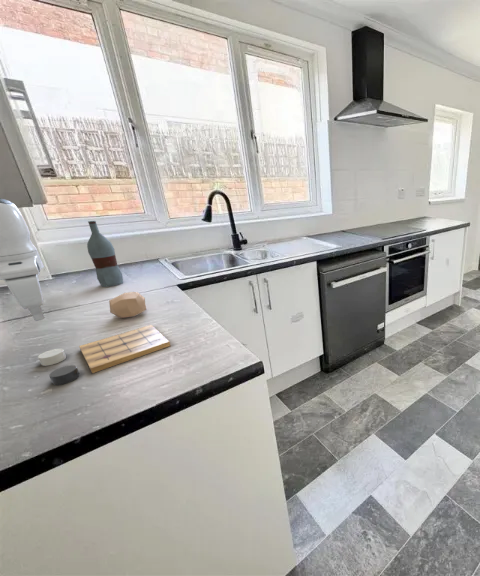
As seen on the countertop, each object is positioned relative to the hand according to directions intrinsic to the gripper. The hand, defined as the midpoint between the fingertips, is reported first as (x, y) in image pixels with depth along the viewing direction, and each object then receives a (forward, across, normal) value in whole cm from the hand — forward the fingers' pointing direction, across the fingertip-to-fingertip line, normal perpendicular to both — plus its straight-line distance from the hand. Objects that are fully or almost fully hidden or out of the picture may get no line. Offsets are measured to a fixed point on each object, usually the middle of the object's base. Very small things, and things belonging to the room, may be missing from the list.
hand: (38, 314), depth 81 cm
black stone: (+14, +13, 0) cm, 20 cm away
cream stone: (+14, -1, -1) cm, 14 cm away
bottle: (+14, -73, +25) cm, 79 cm away
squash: (+14, -25, +22) cm, 37 cm away
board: (+14, +6, +14) cm, 21 cm away
